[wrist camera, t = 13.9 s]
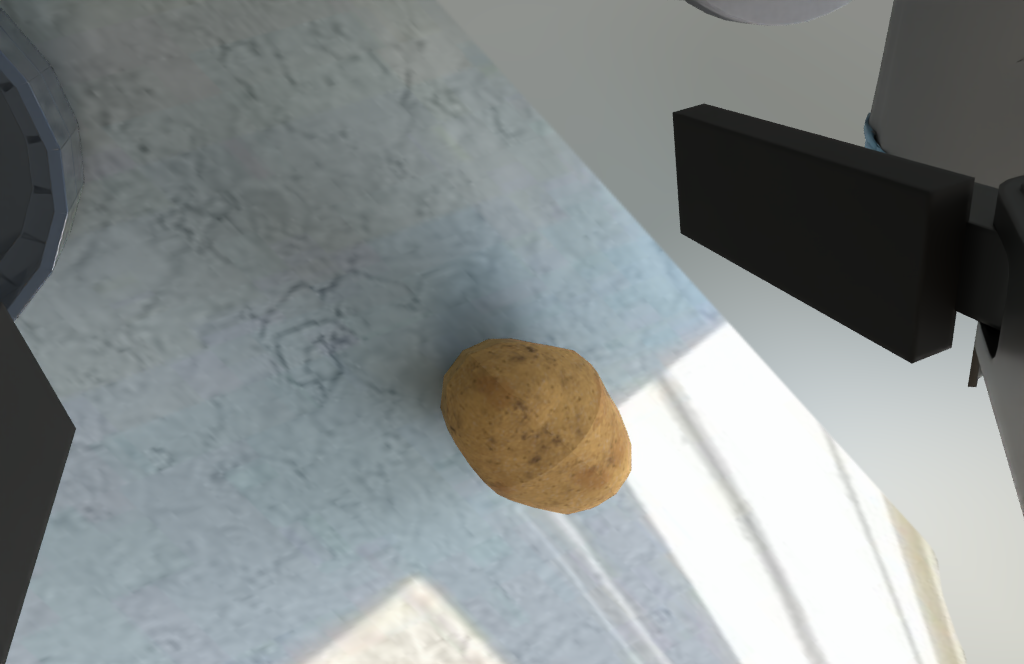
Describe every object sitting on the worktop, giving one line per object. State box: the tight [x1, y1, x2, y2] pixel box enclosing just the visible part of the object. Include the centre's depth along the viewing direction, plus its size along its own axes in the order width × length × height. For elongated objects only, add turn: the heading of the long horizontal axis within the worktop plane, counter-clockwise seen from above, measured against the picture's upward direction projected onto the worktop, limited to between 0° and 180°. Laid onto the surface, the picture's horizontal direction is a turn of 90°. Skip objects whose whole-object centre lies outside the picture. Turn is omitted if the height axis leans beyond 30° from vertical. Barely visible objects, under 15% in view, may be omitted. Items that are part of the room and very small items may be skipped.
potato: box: [440, 338, 631, 514], centre depth 45 cm, size 10×14×8 cm
